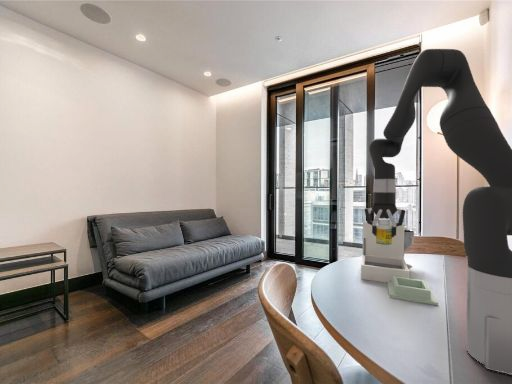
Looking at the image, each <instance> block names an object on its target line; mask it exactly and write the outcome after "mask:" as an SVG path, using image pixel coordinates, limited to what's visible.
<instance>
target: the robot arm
mask: <svg viewBox="0 0 512 384" xmlns="http://www.w3.org/2000/svg"><path fill="white" fill-rule="evenodd" d="M423 87H424V88H441V89H442V90H443V91H444V93H445V94H446V97H447V100H448V101H447V103H446V105H445V107H444V109H443V111H442V113H441V114H440V119H439V127H440V130H441V133H442V136H443V139H444V140H445V143H446V145H447V146H448V148H449V149H450V150H451V152H452V153H454V154H455V155H456V156H457V157H458V158H459V159H461V160H463V161H464V162H465V163H466V164H468V165H470V166H471V168H474V169H475V171H477V172H478V173H479V174H480V175H482V177H483V178H484V179H485V181H486V182H487V184H488V185H489V186H479V187H475V188H473V189H472V190H470V191H469V192H468V193H467V194H466V196H465V198H464V201H463V205H462V227H463V229H462V230H463V247H464V251H465V254H466V258H467V279H466V280H467V282H466V283H467V285H466V287H467V288H466V289H467V290H466V327H465V329H466V330H465V331H466V333H465V334H466V335H465V336H466V338H465V339H466V340H465V343H466V346H465V347H466V352H467V351H468V352H467V354H468V353H469V354H470V355H471V356H472V357H474V358H475V359H476V360H477V361H476V360H475V359H474V360H475V361H476V362H478V361H479V362H480V363H479V362H478V363H479V364H481V363H482V364H484V365H485V366H486V367H487V368H490V369H493V370H499V371H504V372H507V373H512V250H511V249H510V246H509V241H508V236H512V147H511V146H510V144H509V142H508V141H507V139H506V137H505V136H504V134H503V132H502V130H501V128H500V126H499V124H498V122H497V121H496V118H495V117H494V115H493V112H492V111H491V109H490V108H489V106H488V105H487V104H486V102H485V100H484V98H483V97H482V96H483V95H482V94H481V92H480V90H479V88H478V87H477V84H476V82H475V80H474V77H473V74H472V70H471V67H470V65H469V61H468V59H467V57H466V55H465V54H464V52H462V51H461V50H459V49H454V48H430V49H429V48H427V49H424V50H422V51H421V52H420V53H419V54H418V55H417V57H416V58H415V59H414V61H413V64H412V65H411V67H410V70H409V72H408V74H407V77H406V80H405V82H404V86H403V88H402V91H401V93H400V96H399V98H398V101H397V104H396V107H395V109H394V112H393V113H392V115H391V117H390V118H389V121H388V122H387V124H386V125H385V127H384V129H383V132H382V133H383V137H384V138H374V139H373V140H372V141H371V142H370V144H369V146H368V147H369V148H368V149H369V151H368V152H369V155H370V158H371V161H372V165H373V169H374V170H373V172H374V173H373V177H374V178H373V185H372V186H373V187H372V189H373V190H372V191H373V193H372V195H373V197H372V199H373V201H372V206H371V207H369V208H367V207H365V208H364V214H365V219H366V220H365V221H367V223H368V224H370V225H372V234H374V236H376V223H377V222H378V220H379V219H386V220H390V223H392V237H394V236H396V227H397V226H401V225H402V223H404V220H405V214H406V210H405V209H401V208H397V205H396V203H397V202H396V200H397V198H396V197H397V196H396V195H397V191H396V190H397V189H396V187H397V186H396V166H395V165H394V163H389V162H386V161H385V160H384V158H394V157H396V156H398V155H399V154H400V153H401V150H402V146H403V142H404V140H405V137H406V136H407V133H409V131H410V130H411V128H412V126H413V125H414V123H415V121H416V115H417V114H416V104H415V101H416V100H415V99H416V97H417V94H418V93H419V91H420V90H421V89H422V88H423ZM371 213H373V214H375V215H374V218H373V220H371V218H370V217H371V216H370V214H371ZM396 213H397V215H399V217H398V221H397V222H396V221H395V218H394V215H395V214H396ZM469 354H468V355H469ZM470 355H469V356H470ZM471 356H470V357H471ZM472 357H471V358H472ZM482 364H481V365H482ZM484 365H483V366H484ZM485 366H484V367H485Z"/></svg>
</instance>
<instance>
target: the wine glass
mask: <svg viewBox="0 0 512 384" xmlns="http://www.w3.org/2000/svg"><path fill="white" fill-rule="evenodd" d="M414 239H415V231H414V230H411V229H405V228H404V254H405V253H406V252H407V250H408V249H409V248H410V247H411V246H412V245H413V243H414ZM406 265H407V267H408V269H411V268H413V266H412V264H409V263H406Z"/></svg>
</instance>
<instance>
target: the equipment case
mask: <svg viewBox="0 0 512 384" xmlns="http://www.w3.org/2000/svg"><path fill="white" fill-rule="evenodd" d="M377 225H379V223H378V221H377V223H376V226H377ZM389 225H390V226H391V227H392V223H391V222H390V224H389ZM404 229H405V223H404V222H403V223H402V225H401V226H397V227H396V236H394V237H392V246H389V247H385V246H379V245H377V244H376V236H374V234H372V225H370V224H368V223H367V220H365V221H364V220H363V221H362V256H361V265H360V279H361V280H367V281H374V282H382V283H387V284H388V281H389V282H393V276H395V277H402V278H410V270H409V269H410V268H408V267H407V265H406V264H407V263H406V261H405V253H404Z"/></svg>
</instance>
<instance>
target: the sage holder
mask: <svg viewBox="0 0 512 384" xmlns="http://www.w3.org/2000/svg"><path fill="white" fill-rule="evenodd" d="M387 288H388V295H389V298H391V299H397V300H403V301H409V302H415V303H420V304H427V305H432V306H439V301H438V300H437V298H436V297H435V295H434V293H433V291H432V290H431V288H430V287H429V285H428V283H427V281H426V280H424V279H416V278H410V277H409V278H402V277H395V276H393V282H389V281H388V283H387Z"/></svg>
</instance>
